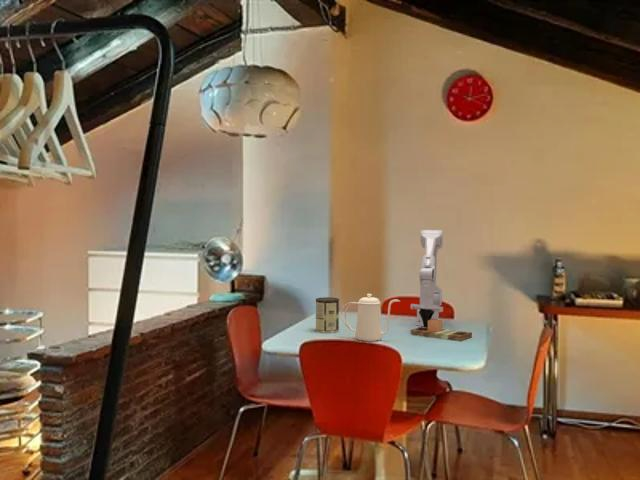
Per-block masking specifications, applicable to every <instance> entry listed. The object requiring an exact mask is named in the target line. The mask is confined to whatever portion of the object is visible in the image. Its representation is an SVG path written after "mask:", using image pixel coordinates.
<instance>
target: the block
mask: <svg viewBox="0 0 640 480" xmlns="http://www.w3.org/2000/svg"><path fill="white" fill-rule="evenodd" d="M442 329H443V319H430V320H428V331H435V332H438V331H441V330H442Z"/></svg>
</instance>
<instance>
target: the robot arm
mask: <svg viewBox="0 0 640 480" xmlns="http://www.w3.org/2000/svg"><path fill="white" fill-rule="evenodd" d="M419 239H420V245H421V247H422V248H423V249H424V250H425V251H424V252H425V254H424V255H423V256H422V258H421V265H420V266H421V268H419V272H418V277H419V278H418V279H419V285H420V287H419V288H420V289H419V291H420V293H419V304H417V303H416V304H415V303H411V304H410V309H411V310H416V324H415V325H416V326H420V327H426V328H427V327H428V320H430V319H439V316H440V313H442V312H444V307H443V306H441V305H443V304H442V303H443V294H442V293H443V291H442V288H441V287H440V286H438V285H437V263H438V261H437V260H438V259H437V257H438V256H437V255H438V251H439V250H440V249H442V247H443V241H444V231H443V230H442V229H437V230H435V229H422V230H420V238H419ZM439 320H440V319H439Z"/></svg>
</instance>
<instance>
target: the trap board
mask: <svg viewBox="0 0 640 480" xmlns="http://www.w3.org/2000/svg"><path fill="white" fill-rule="evenodd" d="M411 334H412V335H411ZM410 335H411V336H417V335H419V337H425V336H426V338H433V339H441V340H450V341H457V342H463V341H465V340H466V341H467V340H469V339H471V338H473V332H470V331H462V330H456V329H455V330H454V329H446V328H442V330H441V331H438V332H435V331H428V327H427V328H426V327H424V326H420V327H417V328H414V329H411V330H410Z"/></svg>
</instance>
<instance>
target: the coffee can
mask: <svg viewBox="0 0 640 480" xmlns="http://www.w3.org/2000/svg"><path fill="white" fill-rule="evenodd" d="M339 303H340V298H338V297H326V296H325V297H317V298H315V331H316V332H318V333H322V334H323V333H325V334H326V333H327V334H331V333H337V332H338V333H339V330H340V329H339V328H340V325H339V324H340V321H339V320H340V319H339V318H340V315H339V314H340V313H339V311H340V304H339Z"/></svg>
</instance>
